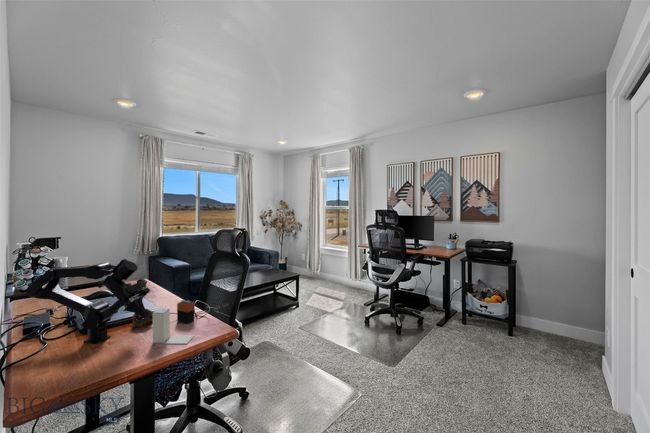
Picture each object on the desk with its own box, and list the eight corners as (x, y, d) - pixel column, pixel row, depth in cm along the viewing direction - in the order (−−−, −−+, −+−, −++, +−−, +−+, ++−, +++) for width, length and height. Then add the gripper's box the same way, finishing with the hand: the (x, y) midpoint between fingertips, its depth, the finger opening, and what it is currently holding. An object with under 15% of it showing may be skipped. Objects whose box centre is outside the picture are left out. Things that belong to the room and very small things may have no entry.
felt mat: (164, 344, 117) (164, 343, 117) (172, 336, 124) (172, 335, 124) (186, 344, 117) (186, 343, 117) (194, 336, 124) (194, 335, 124)
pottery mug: (162, 322, 139) (157, 311, 135) (143, 338, 132) (137, 326, 128) (145, 312, 144) (140, 300, 139) (127, 326, 137) (120, 315, 132)
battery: (187, 324, 137) (187, 303, 136) (176, 322, 139) (176, 301, 138) (194, 320, 141) (194, 300, 140) (184, 318, 143) (184, 298, 143)
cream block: (152, 342, 118) (152, 312, 118) (158, 337, 123) (158, 308, 122) (164, 342, 118) (163, 312, 118) (169, 337, 123) (169, 308, 122)
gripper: (116, 280, 110) (146, 309, 111) (146, 268, 128) (171, 294, 129) (95, 300, 110) (125, 329, 111) (127, 286, 129) (153, 311, 129)
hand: (145, 314), depth 120 cm, fingers closed
